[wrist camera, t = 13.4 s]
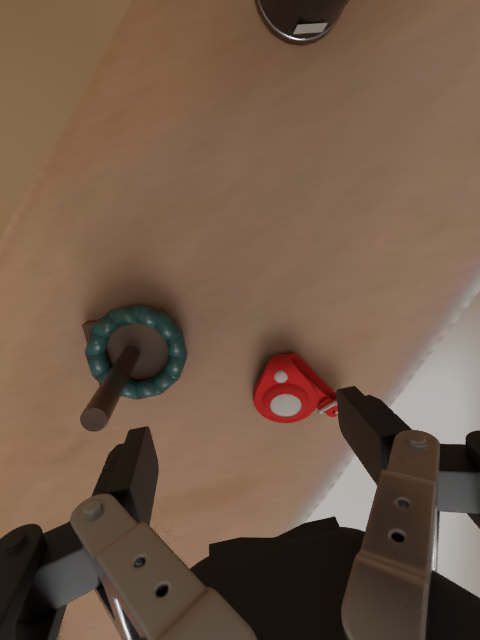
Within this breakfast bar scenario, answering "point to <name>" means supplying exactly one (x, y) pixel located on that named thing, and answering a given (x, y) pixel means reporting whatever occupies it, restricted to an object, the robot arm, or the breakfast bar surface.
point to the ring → (148, 318)
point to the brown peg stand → (124, 367)
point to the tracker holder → (292, 391)
